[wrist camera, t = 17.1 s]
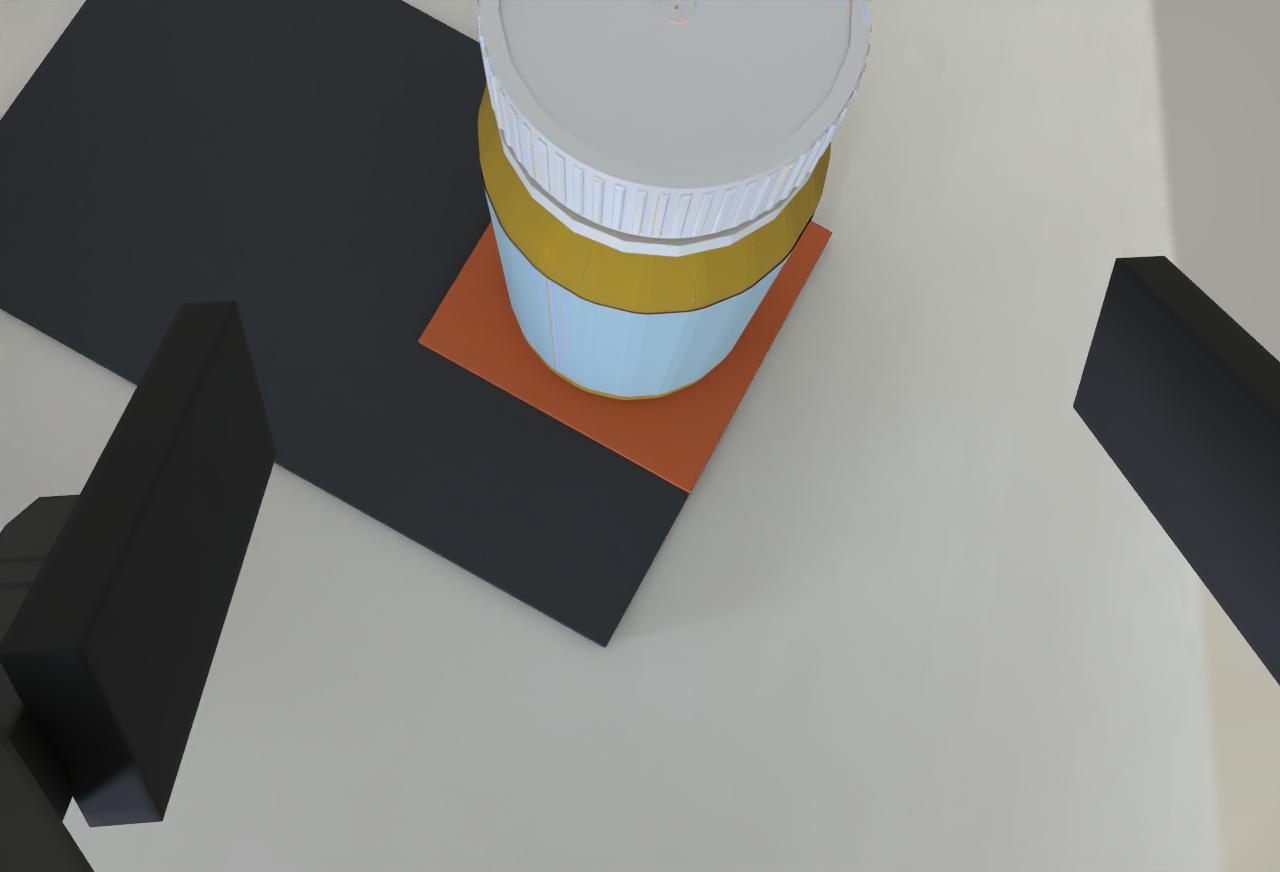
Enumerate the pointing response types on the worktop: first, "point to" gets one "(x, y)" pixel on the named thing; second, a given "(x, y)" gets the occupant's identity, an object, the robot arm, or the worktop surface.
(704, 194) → the bottle
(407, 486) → the corner mat
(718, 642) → the worktop surface
